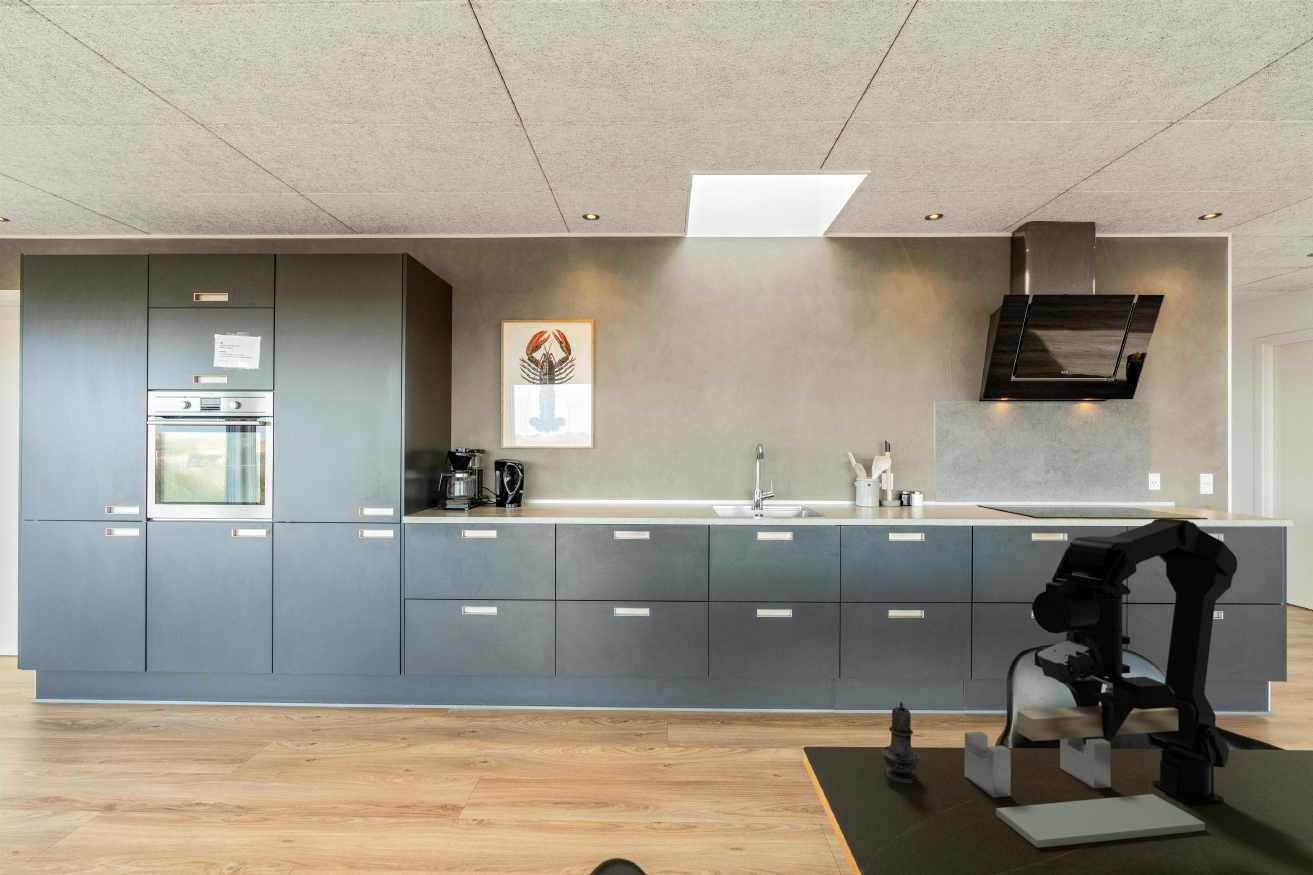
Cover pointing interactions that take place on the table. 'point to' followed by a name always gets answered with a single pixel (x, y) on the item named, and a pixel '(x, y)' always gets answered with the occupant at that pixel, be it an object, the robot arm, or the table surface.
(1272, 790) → the table surface
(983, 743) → the steel stands
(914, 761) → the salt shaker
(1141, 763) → the table surface
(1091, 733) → the birch rail
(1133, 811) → the sage board
